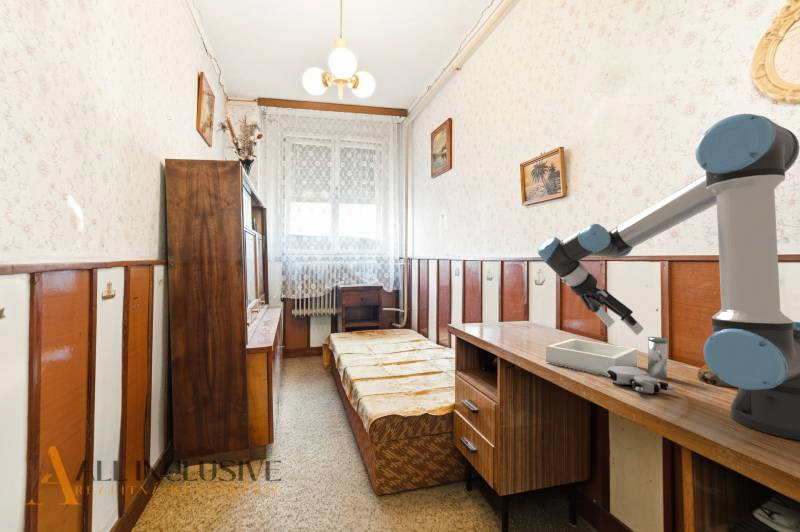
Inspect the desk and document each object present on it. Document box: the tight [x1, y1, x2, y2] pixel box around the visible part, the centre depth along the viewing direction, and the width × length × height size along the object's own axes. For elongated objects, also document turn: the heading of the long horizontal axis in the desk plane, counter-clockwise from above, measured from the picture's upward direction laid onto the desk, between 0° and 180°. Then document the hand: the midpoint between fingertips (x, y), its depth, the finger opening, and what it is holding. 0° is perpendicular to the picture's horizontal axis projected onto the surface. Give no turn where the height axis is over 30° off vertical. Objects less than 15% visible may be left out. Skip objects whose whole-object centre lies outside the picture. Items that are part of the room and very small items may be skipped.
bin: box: [545, 338, 638, 377], centre depth 127 cm, size 22×22×6 cm
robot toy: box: [601, 366, 676, 394], centre depth 103 cm, size 12×4×15 cm
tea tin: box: [647, 336, 669, 380], centre depth 114 cm, size 5×5×12 cm
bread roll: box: [697, 363, 736, 388], centre depth 109 cm, size 10×10×8 cm
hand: (624, 327), depth 114 cm, fingers open, 13 cm apart
